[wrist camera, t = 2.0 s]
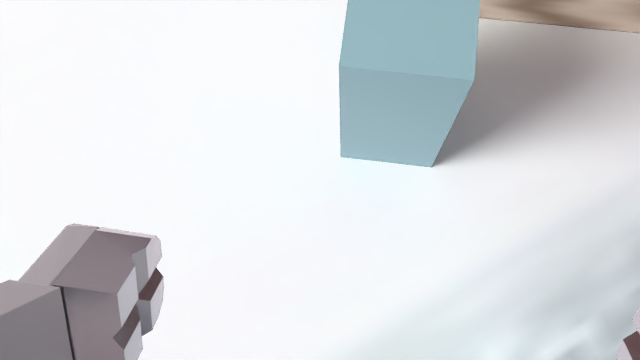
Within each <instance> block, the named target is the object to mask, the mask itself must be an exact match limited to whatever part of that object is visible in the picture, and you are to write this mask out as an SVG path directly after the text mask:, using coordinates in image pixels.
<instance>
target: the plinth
mask: <svg viewBox="0 0 640 360" xmlns="http://www.w3.org/2000/svg"><path fill="white" fill-rule="evenodd" d="M479 18H489V19H499V20H510V21H520V22H531V23H541V24H552V25H562V26H573V27H583V28H594V29H604V30H615V31H625V32H635V33H640V0H480V8H479Z"/></svg>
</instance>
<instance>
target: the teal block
mask: <svg viewBox="0 0 640 360" xmlns="http://www.w3.org/2000/svg"><path fill="white" fill-rule="evenodd" d="M479 8H480V0H348V4H347V12H346V19H345V26H344V33H343V41H342V48H341V55H340V63H339V91H340V142H341V157H346V158H355V159H364V160H372V161H381V162H390V163H399V164H407V165H416V166H425V167H432V165H433V163H434V161H435V159H436V157H437V155H438V153H439V151H440V149H441V147H442V145H443V143H444V141H445V139H446V137H447V135H448V133H449V131H450V129H451V127H452V125H453V123H454V120H455V118H456V116H457V114H458V112H459V110H460V108H461V106H462V104H463V102H464V100H465V98H466V96H467V94H468V92H469V90H470V88H471V86H472V84H473V82H474V80H475V66H476V51H477V37H478V23H479Z"/></svg>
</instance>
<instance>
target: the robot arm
mask: <svg viewBox="0 0 640 360" xmlns="http://www.w3.org/2000/svg"><path fill="white" fill-rule="evenodd" d="M161 257H162V251H161V241H160V239H159V238H158V237H157V236H154V235H148V234H141V233H135V232H128V231H122V230H116V229H109V228H103V227H102V228H99V227H95V226H88V225H81V224H71V225H68V226H66V227H65V228H64V229H63V230H62V231H61V233H60V234H59V235H58V236H57V237H56V238H55V239H54V240H53V242H52V243H51V244H50V245H49V246H48V247H47V248H46V250H45V251H44V252H43V253H42V254H41V255H40V256H39V258H38V259H37V260H36V261H35V262H34V263H33V264H32V266H31V267H30V268H29V269H28V270H27V271H26V272H25V274H24V275H23V276H22V277H21V278H20V279H19V280H18V281H13V280H8V281H6V282H3V283H1V284H0V360H137V359H138V357H139V355H140V353H141V351H142V349H143V347H142V336H143V335H144V334H146V333H148V332H149V331H151V330H152V329H153V327H154V325H155V323H156V321H157V319H158V316H159V313H160V309H161V305H162V301H163V291H164V282H163V276H162V274H161V273H160V272H159V271H158V270H157V268H156V266H157V264H158V262H159V261H160V259H161ZM632 320H633V322H634V325H635V327H636V329H637V331H636V332H634V333H633V334H631V335H629V336H628V337H626V338H625V339H623V341H622V343H621V345H620V348H619V350H618V352H617V357H616V360H640V307H639V308H638V309H637V311H636V313H635V315H634V317H633V319H632Z"/></svg>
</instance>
